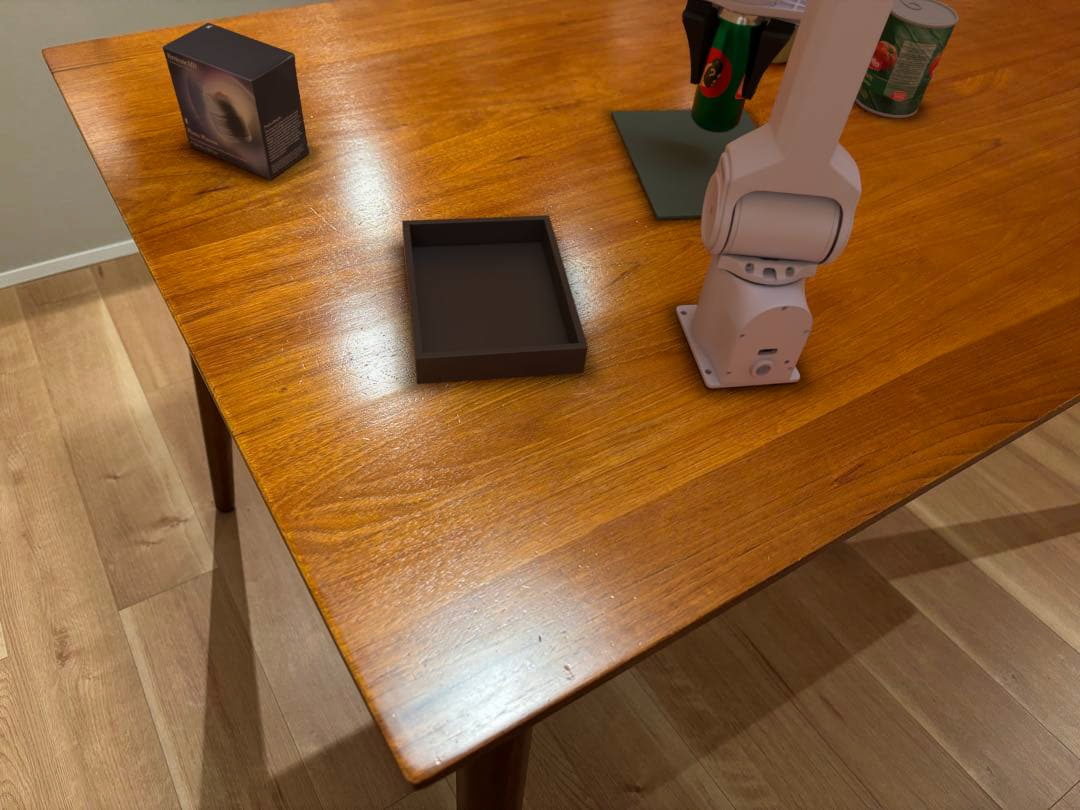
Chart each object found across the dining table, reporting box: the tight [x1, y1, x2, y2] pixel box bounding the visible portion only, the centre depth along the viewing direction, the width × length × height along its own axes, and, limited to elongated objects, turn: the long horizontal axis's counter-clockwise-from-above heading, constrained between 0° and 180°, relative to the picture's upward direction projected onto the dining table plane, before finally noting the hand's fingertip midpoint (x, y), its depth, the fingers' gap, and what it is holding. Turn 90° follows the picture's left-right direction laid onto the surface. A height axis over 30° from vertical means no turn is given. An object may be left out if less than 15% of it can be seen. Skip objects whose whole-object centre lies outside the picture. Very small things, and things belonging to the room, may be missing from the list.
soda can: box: [690, 5, 768, 133], centre depth 80 cm, size 5×5×12 cm
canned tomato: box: [854, 0, 959, 119], centre depth 96 cm, size 8×8×11 cm
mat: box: [610, 108, 758, 221], centre depth 87 cm, size 20×16×1 cm
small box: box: [161, 22, 310, 181], centre depth 78 cm, size 11×6×10 cm, turn 62°
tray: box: [401, 214, 589, 385], centre depth 69 cm, size 17×13×3 cm
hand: (723, 87), depth 81 cm, fingers closed on soda can, 5 cm apart
